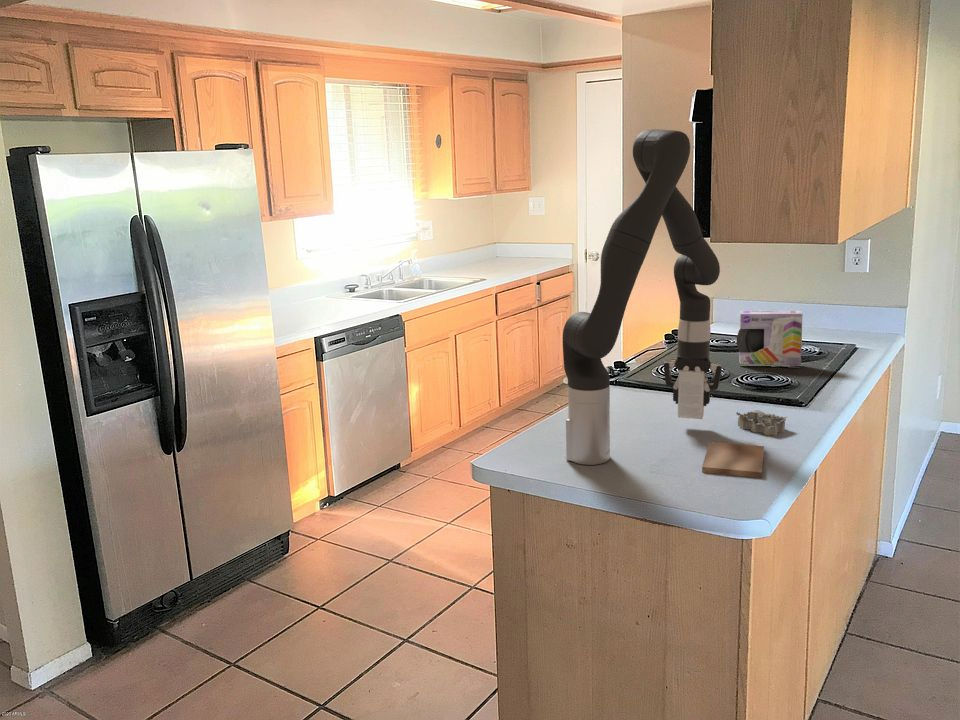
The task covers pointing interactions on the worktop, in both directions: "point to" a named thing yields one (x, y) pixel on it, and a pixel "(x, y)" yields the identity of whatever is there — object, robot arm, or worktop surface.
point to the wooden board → (734, 459)
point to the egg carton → (762, 422)
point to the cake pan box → (770, 337)
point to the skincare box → (691, 394)
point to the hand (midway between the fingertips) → (691, 404)
